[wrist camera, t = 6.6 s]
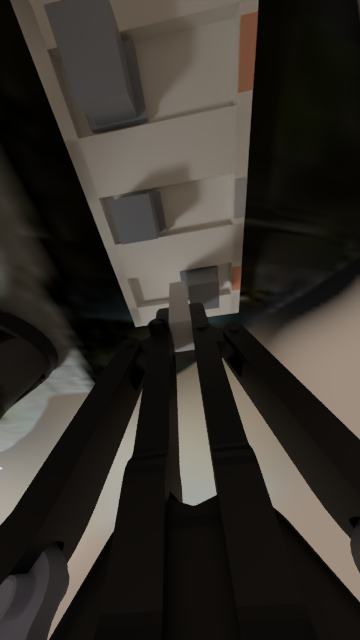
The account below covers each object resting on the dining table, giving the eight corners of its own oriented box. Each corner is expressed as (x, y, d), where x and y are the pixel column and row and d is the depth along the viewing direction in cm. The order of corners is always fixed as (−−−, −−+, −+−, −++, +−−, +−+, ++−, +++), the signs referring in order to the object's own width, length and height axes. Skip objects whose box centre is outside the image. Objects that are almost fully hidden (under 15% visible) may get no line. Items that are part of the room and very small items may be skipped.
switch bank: (139, 313, 24) (135, 327, 21) (35, 13, 11) (-10, -47, 8) (231, 300, 23) (238, 313, 21) (243, -41, 10) (268, -127, 7)
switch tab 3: (183, 295, 20) (185, 313, 17) (179, 271, 18) (181, 285, 15) (217, 290, 20) (225, 307, 17) (216, 265, 18) (225, 279, 15)
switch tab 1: (93, 132, 12) (66, 109, 9) (72, 62, 10) (29, 3, 7) (148, 121, 12) (139, 93, 9) (135, 47, 10) (118, -20, 7)
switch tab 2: (126, 238, 16) (114, 247, 13) (114, 200, 14) (98, 200, 11) (167, 231, 16) (165, 238, 13) (160, 191, 14) (156, 189, 11)
